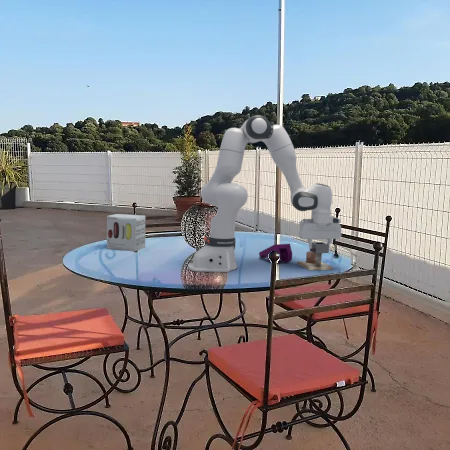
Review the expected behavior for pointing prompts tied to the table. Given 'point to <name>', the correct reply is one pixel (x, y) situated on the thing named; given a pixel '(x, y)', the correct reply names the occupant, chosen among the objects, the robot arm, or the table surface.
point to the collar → (320, 247)
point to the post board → (312, 266)
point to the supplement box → (126, 232)
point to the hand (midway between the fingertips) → (319, 248)
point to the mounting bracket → (281, 249)
